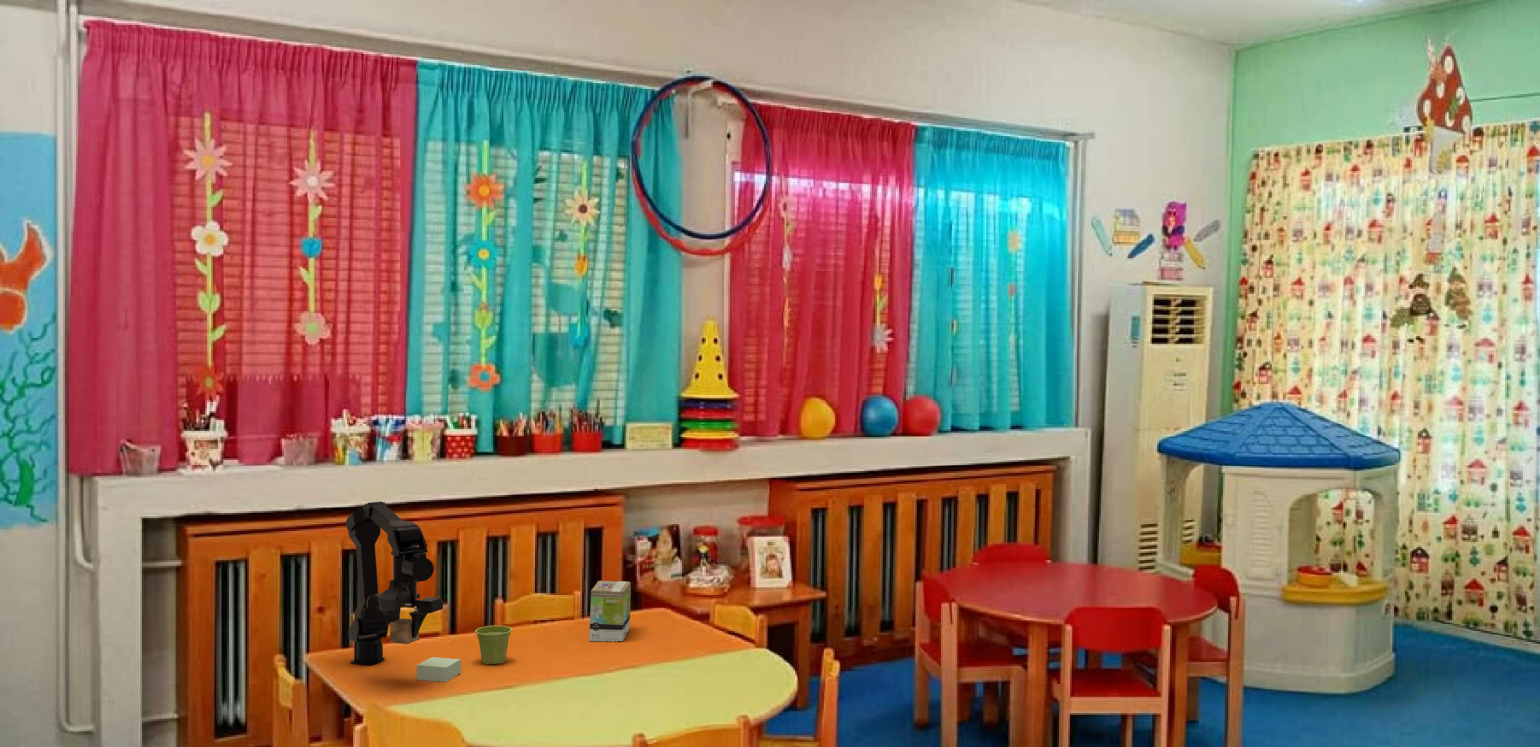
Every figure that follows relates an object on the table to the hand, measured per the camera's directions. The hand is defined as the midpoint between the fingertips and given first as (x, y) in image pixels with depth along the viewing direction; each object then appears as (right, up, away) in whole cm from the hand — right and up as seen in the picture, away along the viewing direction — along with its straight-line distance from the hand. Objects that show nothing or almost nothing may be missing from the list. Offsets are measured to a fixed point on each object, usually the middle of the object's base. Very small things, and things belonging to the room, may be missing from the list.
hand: (404, 637), depth 320 cm
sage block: (+7, -11, +5) cm, 14 cm away
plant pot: (+18, -11, +19) cm, 28 cm away
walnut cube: (0, -1, 0) cm, 1 cm away
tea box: (+45, -10, +50) cm, 68 cm away
